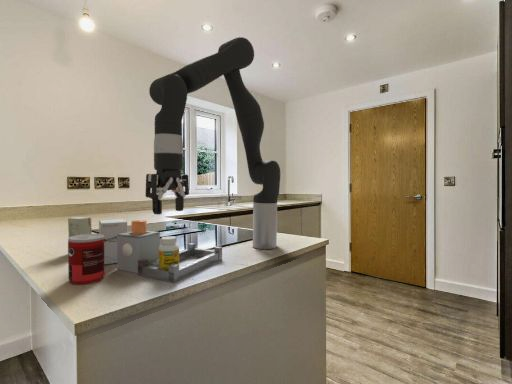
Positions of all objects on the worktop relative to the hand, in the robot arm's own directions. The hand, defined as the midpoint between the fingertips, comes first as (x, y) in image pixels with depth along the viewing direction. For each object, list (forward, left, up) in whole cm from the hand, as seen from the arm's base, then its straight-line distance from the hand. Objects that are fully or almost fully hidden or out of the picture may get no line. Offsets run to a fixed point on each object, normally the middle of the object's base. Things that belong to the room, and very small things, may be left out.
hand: (169, 212), depth 76 cm
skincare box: (-2, -40, -17) cm, 44 cm away
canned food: (+13, -15, -17) cm, 26 cm away
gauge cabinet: (0, -11, -17) cm, 20 cm away
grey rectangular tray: (-6, 0, -17) cm, 18 cm away
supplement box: (-1, -23, -17) cm, 29 cm away
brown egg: (0, -11, -10) cm, 15 cm away
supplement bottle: (0, 0, -17) cm, 17 cm away
